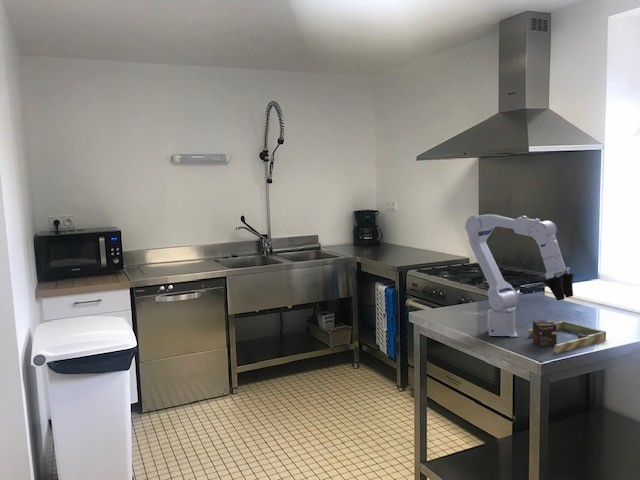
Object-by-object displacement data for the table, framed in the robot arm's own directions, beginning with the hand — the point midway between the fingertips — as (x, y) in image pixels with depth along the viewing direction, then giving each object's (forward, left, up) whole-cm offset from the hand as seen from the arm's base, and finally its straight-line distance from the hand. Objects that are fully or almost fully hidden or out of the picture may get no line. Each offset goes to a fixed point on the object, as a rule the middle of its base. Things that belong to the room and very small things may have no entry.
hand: (565, 298), depth 167 cm
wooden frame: (0, +10, -17) cm, 20 cm away
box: (-5, +5, -17) cm, 19 cm away
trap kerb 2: (+6, +7, -17) cm, 19 cm away
